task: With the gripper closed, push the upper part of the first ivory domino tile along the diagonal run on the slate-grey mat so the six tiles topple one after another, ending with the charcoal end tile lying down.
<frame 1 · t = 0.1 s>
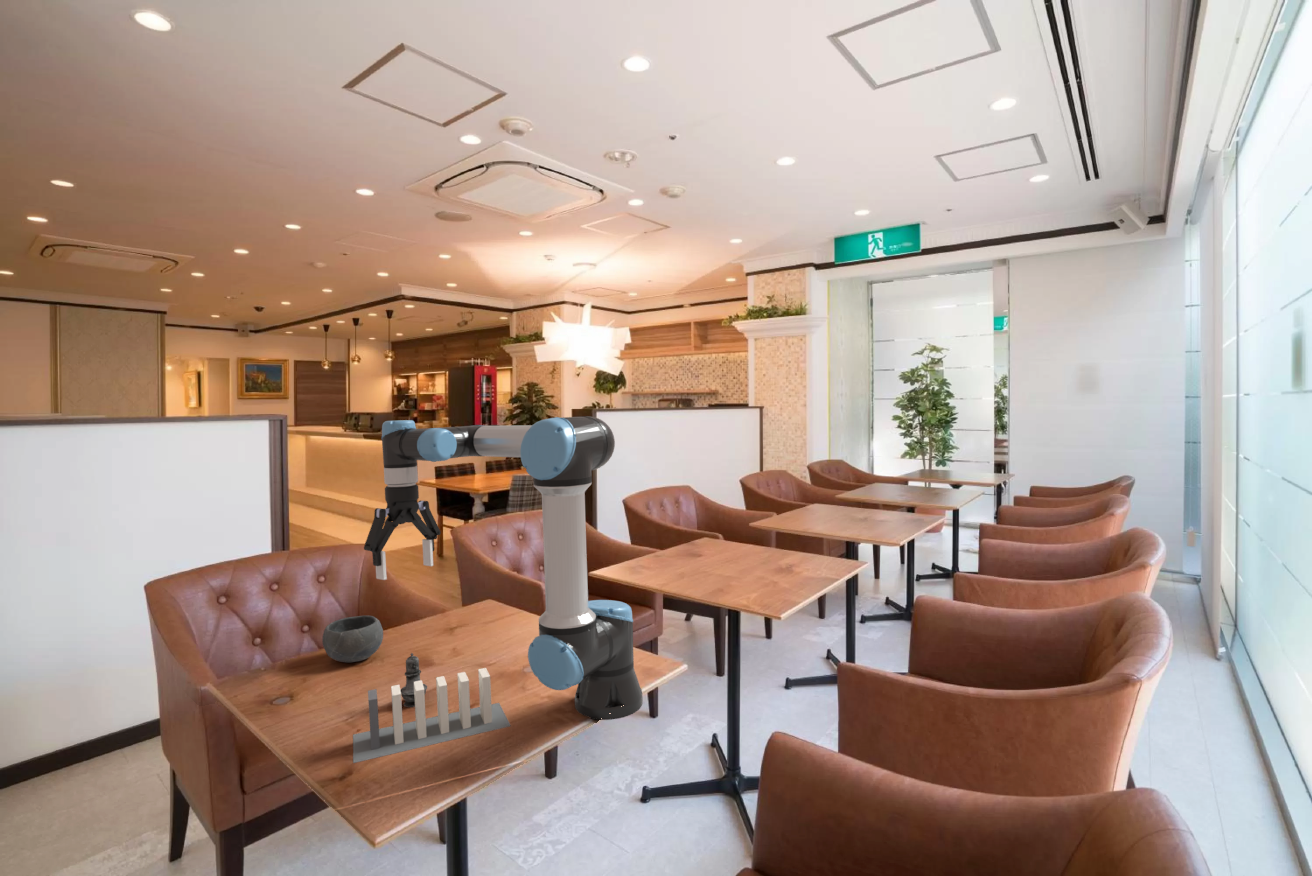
hand: (405, 572, 157), 28 cm above the table, fingers open, 13 cm apart
grey chess piece: (414, 705, 149), on the table
tile3: (443, 727, 137), resting on mat
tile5: (398, 737, 133), resting on mat
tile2: (465, 722, 138), resting on mat
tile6: (375, 743, 131), resting on mat
mat: (432, 732, 136), on the table
tile4: (421, 732, 135), resting on mat
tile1: (486, 718, 140), resting on mat
bowl: (354, 659, 177), on the table
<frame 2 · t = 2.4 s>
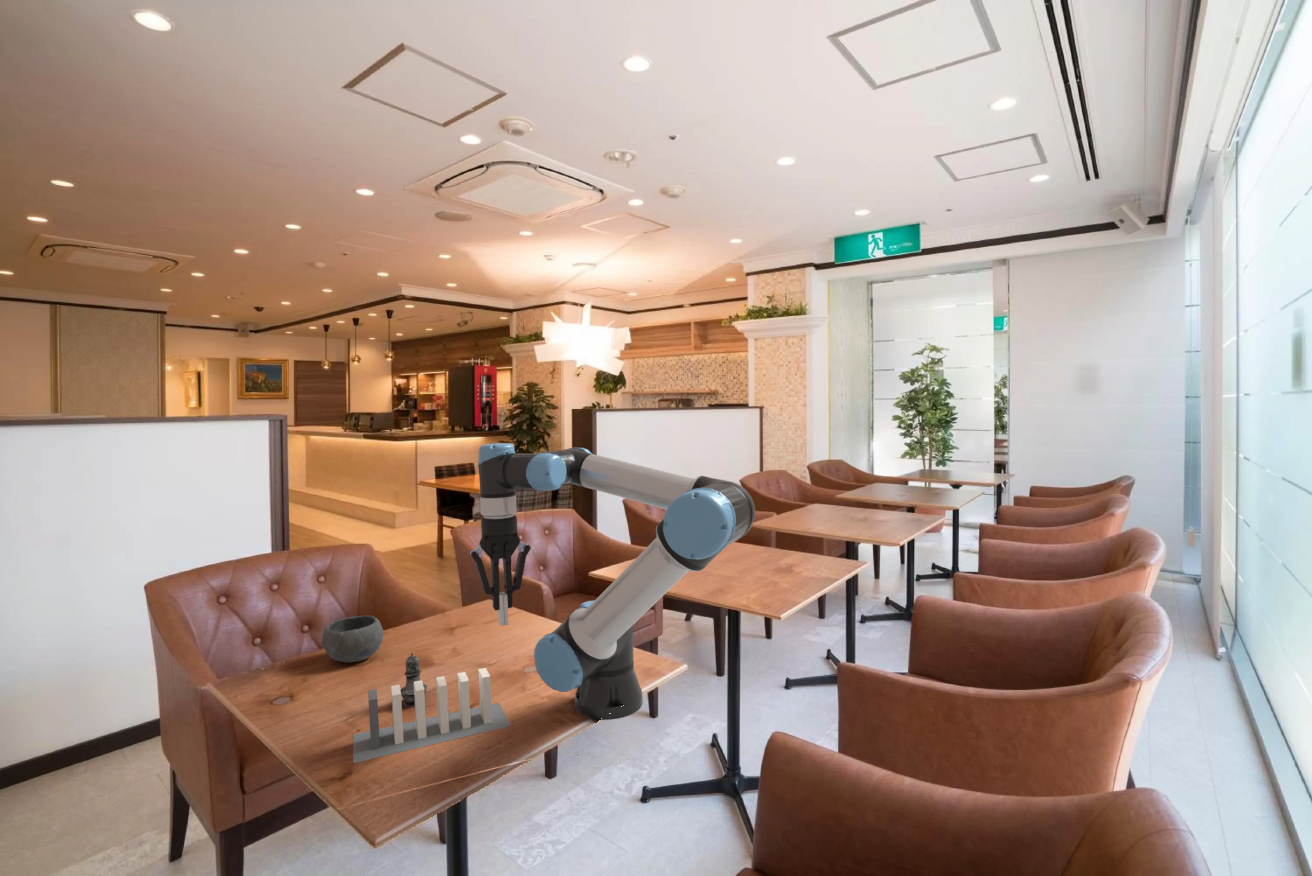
hand: (503, 623, 141), 20 cm above the table, fingers closed
nothing on the table moved.
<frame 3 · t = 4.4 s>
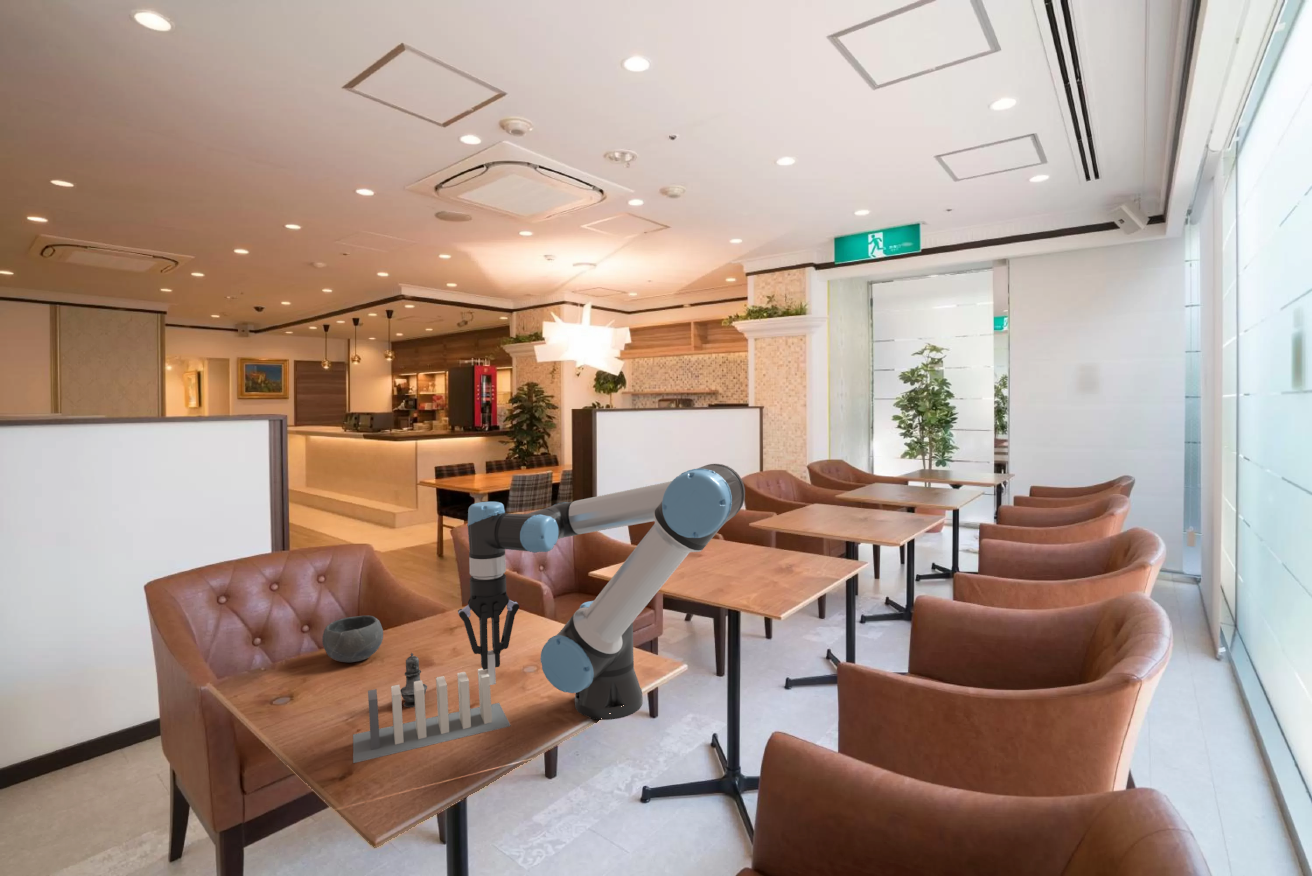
hand: (491, 682, 141), 8 cm above the table, fingers closed
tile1: (486, 718, 140), resting on mat, touching gripper
everything else where it was.
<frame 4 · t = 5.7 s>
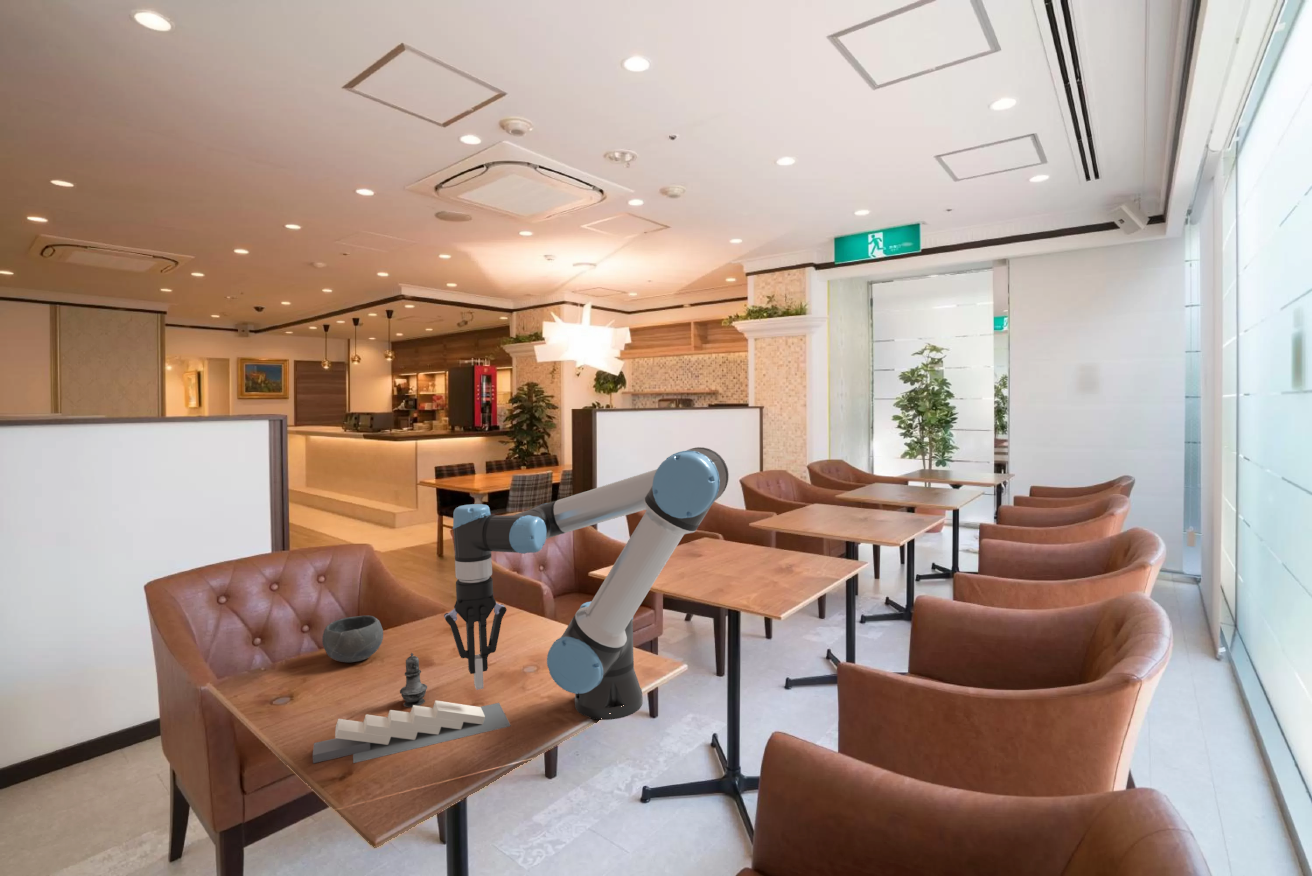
hand: (478, 686, 139), 8 cm above the table, fingers closed
tile3: (438, 725, 136), point 1 cm above the table, tilted 69°, touching mat, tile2, tile4
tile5: (388, 735, 132), point 1 cm above the table, tilted 68°, touching tile4, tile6
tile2: (460, 720, 138), point 1 cm above the table, tilted 69°, touching mat, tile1, tile3
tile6: (369, 740, 131), point 1 cm above the table, tilted 90°, touching mat, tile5
tile4: (415, 730, 134), point 1 cm above the table, tilted 68°, touching mat, tile3, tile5
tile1: (481, 715, 140), point 1 cm above the table, tilted 69°, touching mat, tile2
everything else where it was.
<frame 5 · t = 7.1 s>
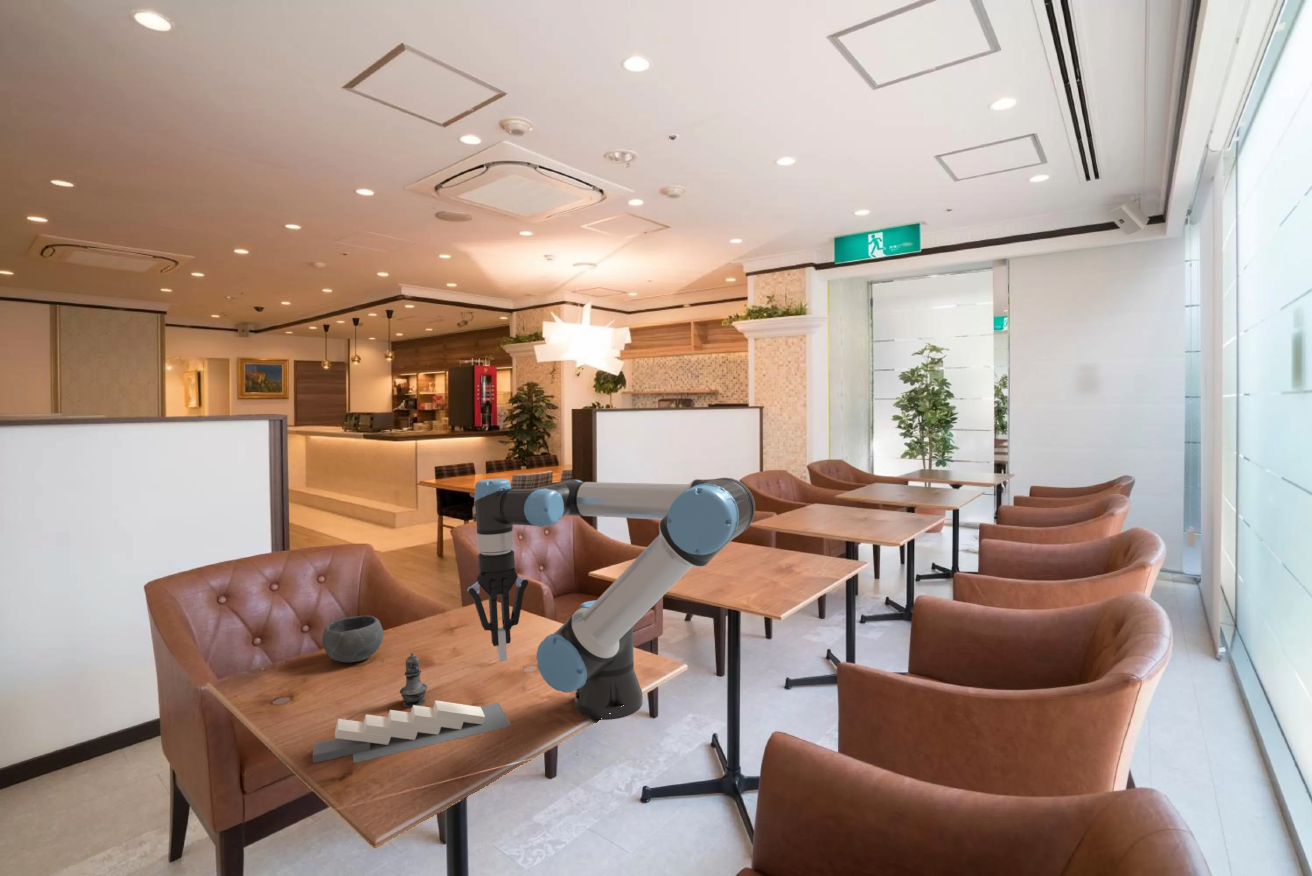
hand: (502, 659, 141), 13 cm above the table, fingers closed
nothing on the table moved.
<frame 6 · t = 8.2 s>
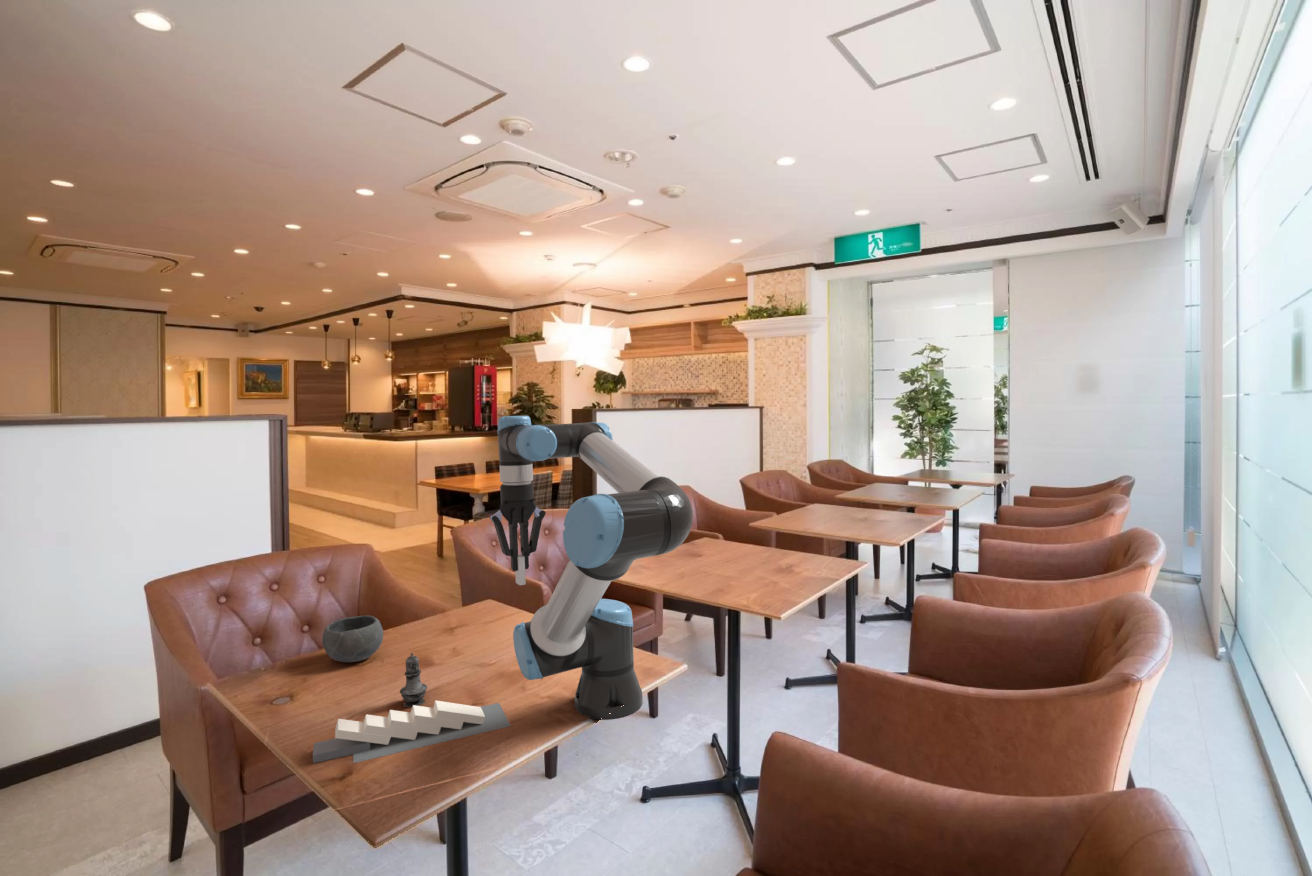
hand: (520, 583, 152), 26 cm above the table, fingers closed
nothing on the table moved.
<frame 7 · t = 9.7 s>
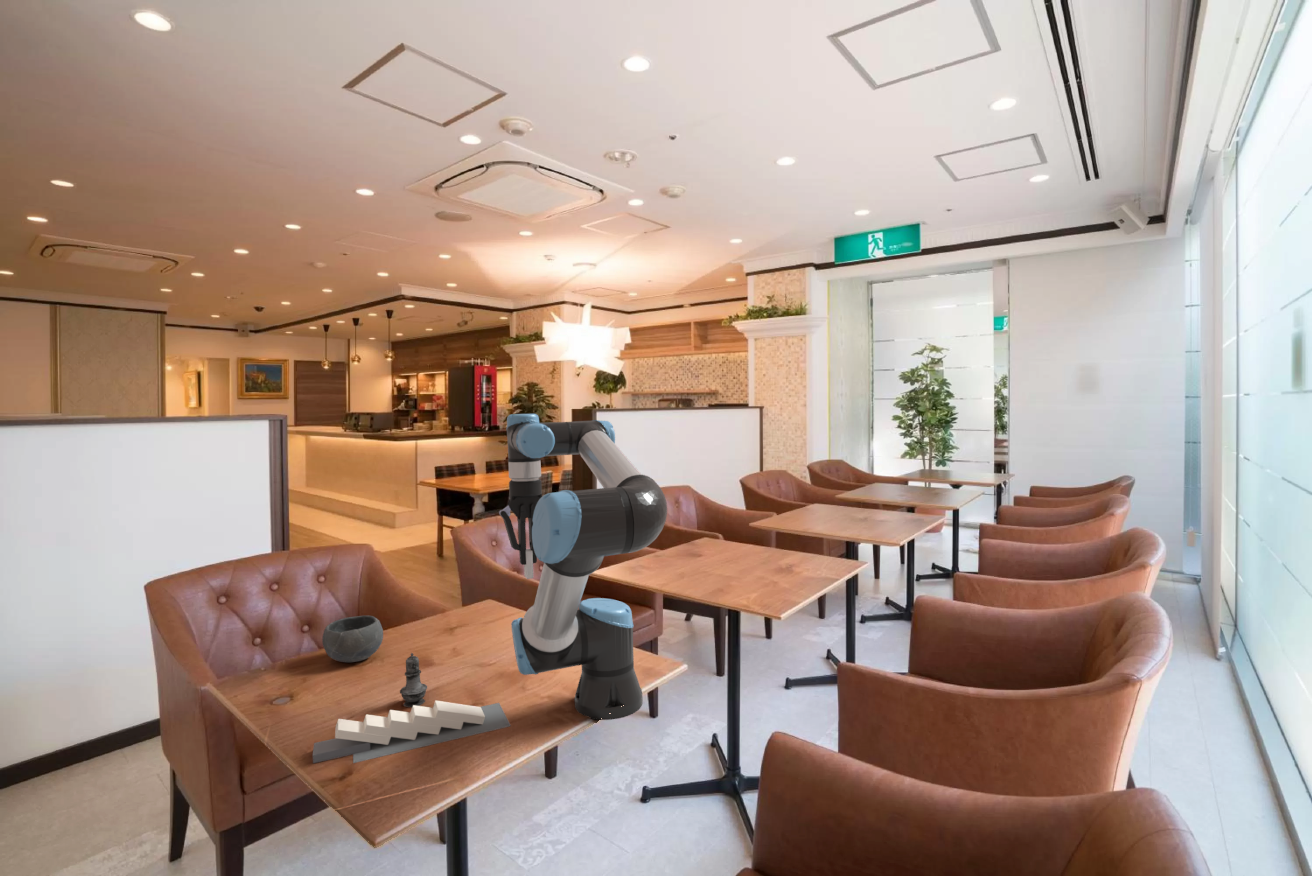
hand: (529, 577, 156), 26 cm above the table, fingers closed
nothing on the table moved.
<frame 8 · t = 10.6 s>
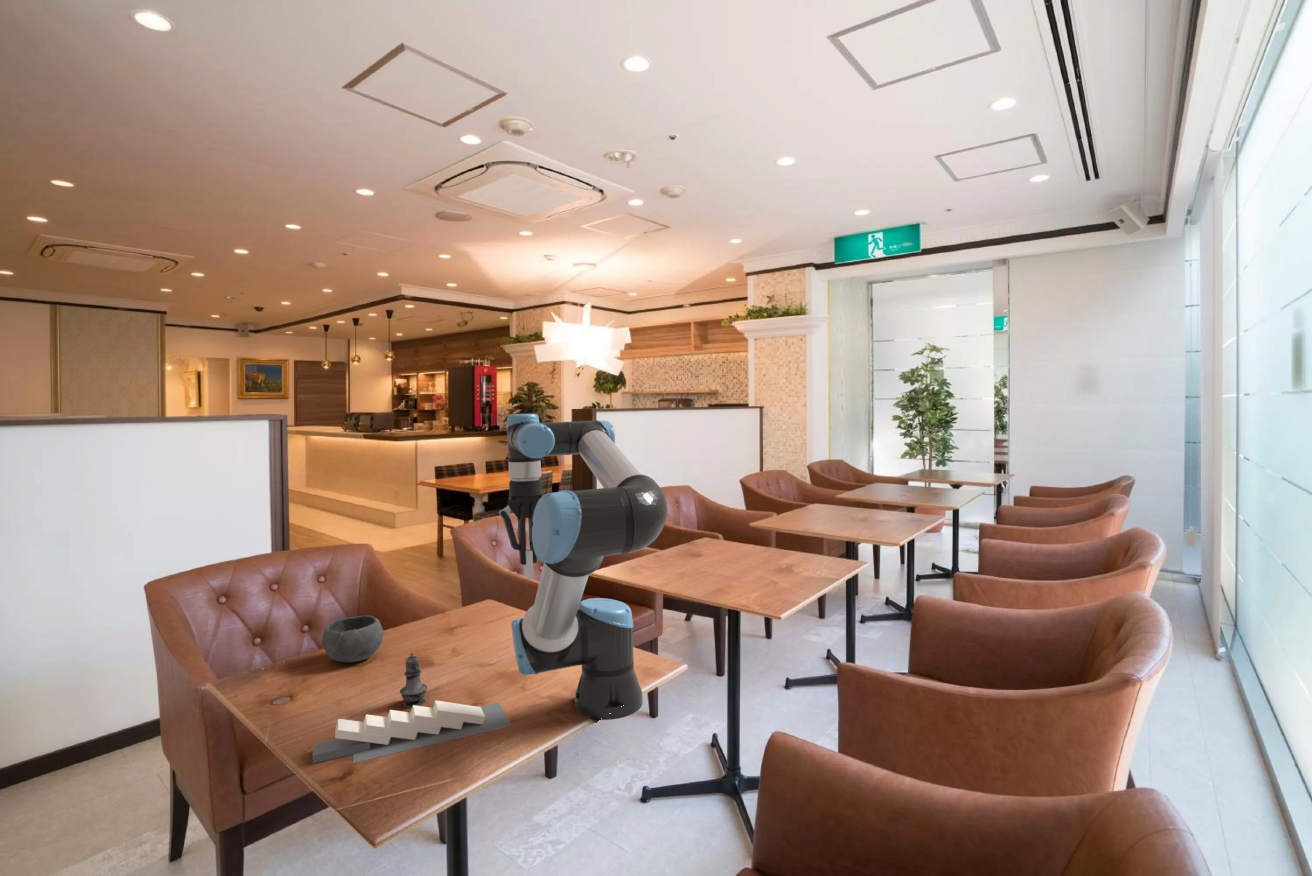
hand: (529, 577, 156), 26 cm above the table, fingers closed
nothing on the table moved.
at the end: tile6 tilted 90°; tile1 tilted 69°; grey chess piece moved 0.2 cm from its start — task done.
